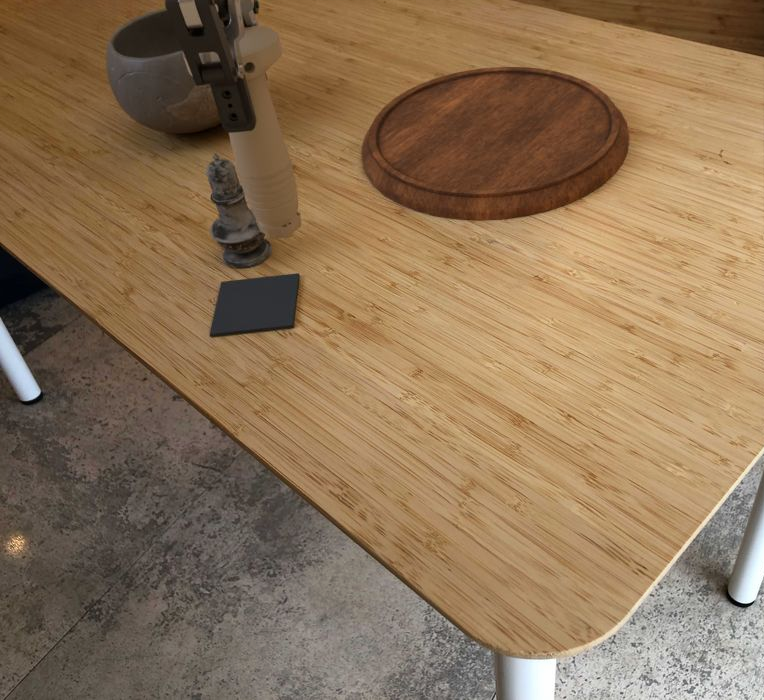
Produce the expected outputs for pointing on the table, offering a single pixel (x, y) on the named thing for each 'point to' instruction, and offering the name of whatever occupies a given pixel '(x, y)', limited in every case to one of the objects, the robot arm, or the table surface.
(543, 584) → the table surface
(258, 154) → the handle
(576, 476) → the table surface
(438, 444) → the table surface
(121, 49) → the bowl
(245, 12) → the robot arm
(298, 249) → the table surface
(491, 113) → the cutting board
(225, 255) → the grey stone chess piece
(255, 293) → the place mat
